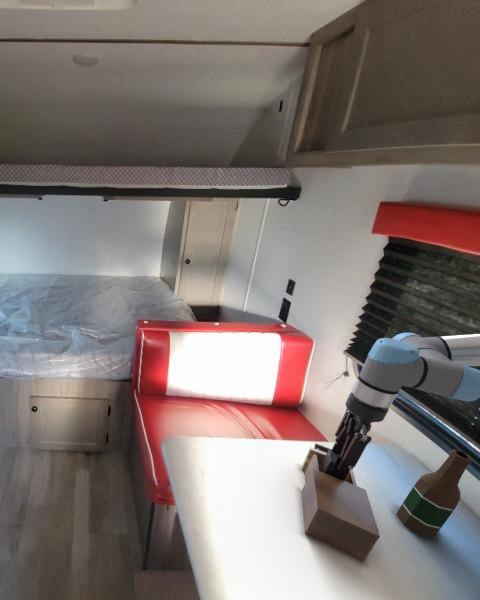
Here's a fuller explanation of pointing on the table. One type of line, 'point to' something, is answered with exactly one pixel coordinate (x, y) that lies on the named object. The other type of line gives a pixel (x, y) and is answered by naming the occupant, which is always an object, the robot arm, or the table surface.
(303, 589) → the table surface
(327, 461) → the block
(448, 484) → the beer bottle
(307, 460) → the drawer
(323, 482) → the cabinet
